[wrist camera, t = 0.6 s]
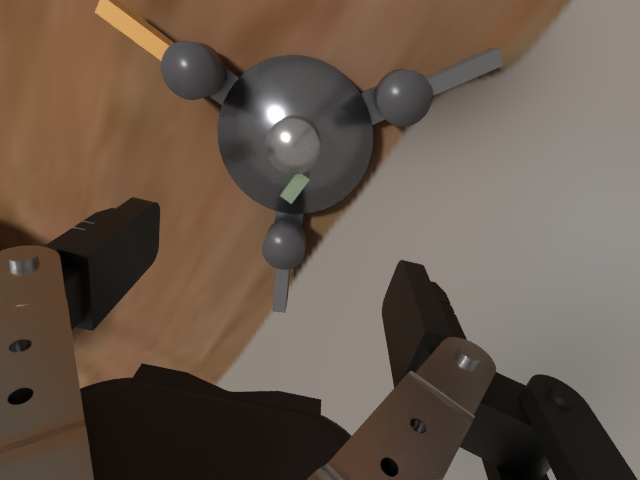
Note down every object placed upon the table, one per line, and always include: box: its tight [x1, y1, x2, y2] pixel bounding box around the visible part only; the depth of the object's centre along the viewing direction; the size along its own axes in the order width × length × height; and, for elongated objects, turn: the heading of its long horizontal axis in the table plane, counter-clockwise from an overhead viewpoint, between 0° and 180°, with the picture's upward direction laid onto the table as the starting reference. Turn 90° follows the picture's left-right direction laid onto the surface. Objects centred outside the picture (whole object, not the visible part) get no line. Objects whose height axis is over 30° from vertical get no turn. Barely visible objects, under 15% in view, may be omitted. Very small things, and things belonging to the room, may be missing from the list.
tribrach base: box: [210, 55, 385, 226], centre depth 34 cm, size 21×19×4 cm
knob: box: [262, 219, 307, 312], centre depth 40 cm, size 10×4×3 cm, turn 173°
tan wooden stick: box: [95, 0, 225, 100], centre depth 31 cm, size 10×4×3 cm, turn 53°
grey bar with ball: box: [375, 48, 503, 126], centre depth 31 cm, size 10×4×3 cm, turn 113°
